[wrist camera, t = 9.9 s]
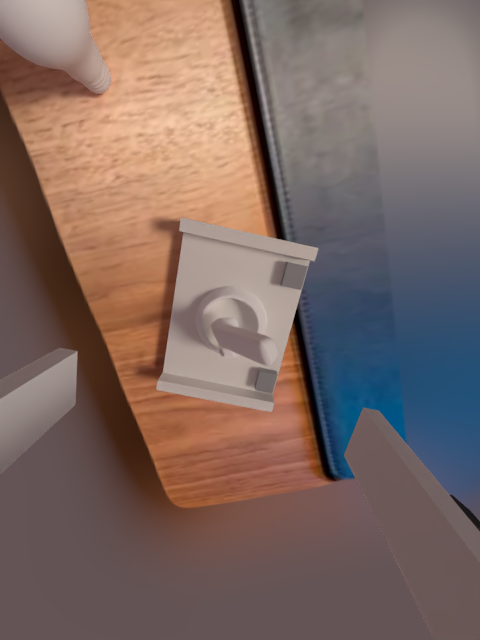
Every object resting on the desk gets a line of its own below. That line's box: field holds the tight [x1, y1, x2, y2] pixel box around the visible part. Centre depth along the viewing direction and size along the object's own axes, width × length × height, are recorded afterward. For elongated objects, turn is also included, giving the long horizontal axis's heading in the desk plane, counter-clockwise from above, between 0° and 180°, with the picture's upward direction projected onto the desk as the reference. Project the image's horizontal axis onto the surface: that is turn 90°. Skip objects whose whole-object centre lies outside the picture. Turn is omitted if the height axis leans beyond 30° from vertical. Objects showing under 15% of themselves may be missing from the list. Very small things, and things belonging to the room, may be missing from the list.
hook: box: [196, 286, 278, 366], centre depth 24 cm, size 8×12×7 cm
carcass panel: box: [156, 217, 318, 412], centre depth 27 cm, size 18×13×3 cm
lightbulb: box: [0, 0, 111, 94], centre depth 18 cm, size 6×6×11 cm
